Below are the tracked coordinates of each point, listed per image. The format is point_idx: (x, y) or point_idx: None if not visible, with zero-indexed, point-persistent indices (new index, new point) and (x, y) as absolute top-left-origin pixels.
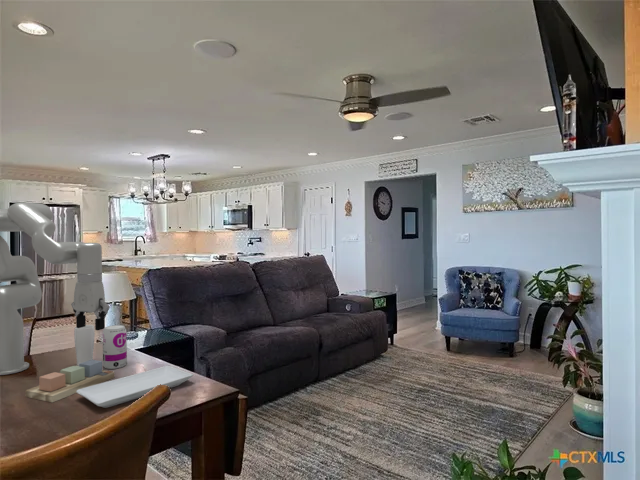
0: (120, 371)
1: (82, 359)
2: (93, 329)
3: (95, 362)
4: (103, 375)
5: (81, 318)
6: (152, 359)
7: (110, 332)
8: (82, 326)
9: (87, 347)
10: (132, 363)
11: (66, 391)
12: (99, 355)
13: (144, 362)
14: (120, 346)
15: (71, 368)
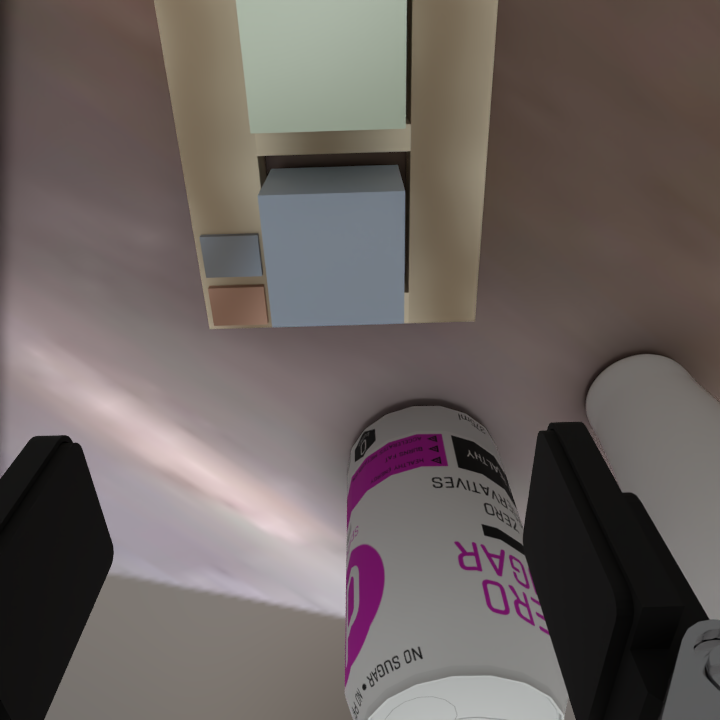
0: (295, 405)
1: (636, 391)
2: None
3: (293, 279)
4: (201, 237)
5: (581, 625)
6: (306, 602)
7: (413, 645)
8: (532, 503)
9: (643, 474)
10: None
11: None
12: None
13: (304, 557)
14: (349, 564)
15: (340, 44)
